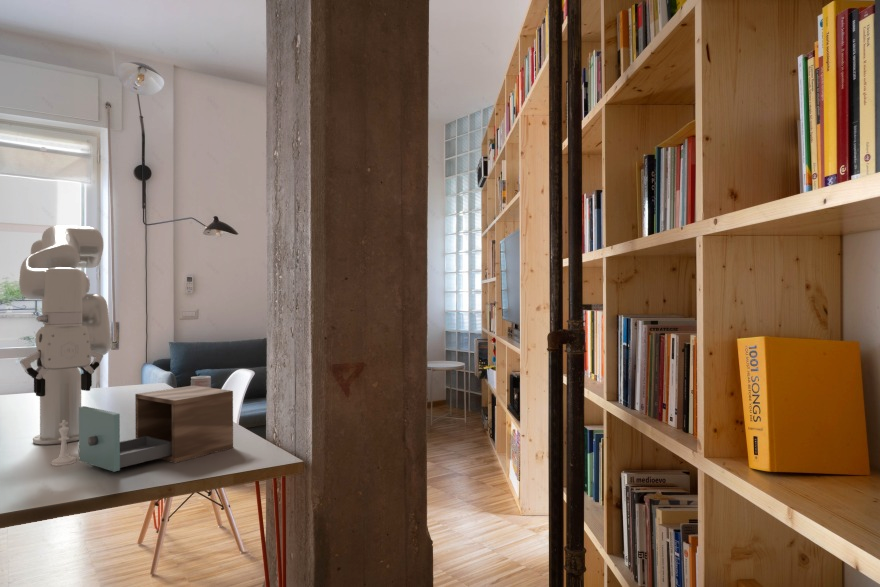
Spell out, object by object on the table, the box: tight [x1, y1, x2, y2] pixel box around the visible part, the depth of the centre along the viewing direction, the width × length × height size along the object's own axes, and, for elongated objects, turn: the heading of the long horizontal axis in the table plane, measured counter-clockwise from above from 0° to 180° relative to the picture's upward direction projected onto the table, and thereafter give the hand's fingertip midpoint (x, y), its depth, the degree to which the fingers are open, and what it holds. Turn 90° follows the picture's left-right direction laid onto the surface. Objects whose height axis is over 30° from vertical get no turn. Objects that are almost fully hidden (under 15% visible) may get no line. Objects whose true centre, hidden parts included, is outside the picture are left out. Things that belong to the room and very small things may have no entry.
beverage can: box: [190, 375, 212, 388], centre depth 172 cm, size 6×6×15 cm
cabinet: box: [134, 385, 234, 463], centre depth 146 cm, size 17×16×15 cm
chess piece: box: [51, 420, 77, 467], centre depth 136 cm, size 5×5×10 cm
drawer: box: [78, 405, 172, 472], centre depth 134 cm, size 16×16×12 cm
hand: (63, 393), depth 135 cm, fingers open, 9 cm apart
